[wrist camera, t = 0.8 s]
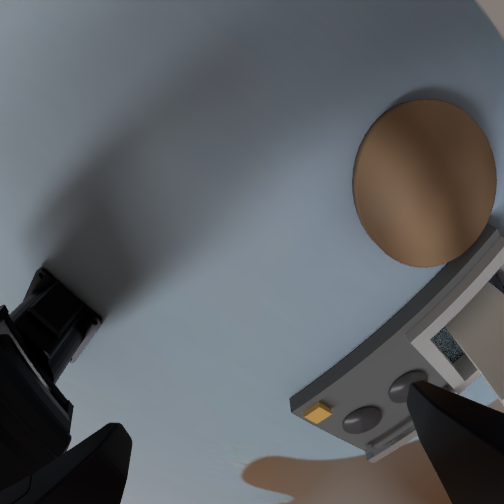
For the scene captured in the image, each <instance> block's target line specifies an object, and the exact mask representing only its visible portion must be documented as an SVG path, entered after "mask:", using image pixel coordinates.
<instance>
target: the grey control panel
mask: <svg viewBox="0 0 504 504" xmlns="http://www.w3.org/2000/svg"><path fill="white" fill-rule="evenodd" d="M496 272H497V274H498V276H499V278H500V280H501V282H502V285H503V287H504V237H502V236H501V235H500V233H499V231H498V229H497V228H495V227H493V226H491V225H490V224H488V223H487V224H486V226H485V228H484V229H483V231H482V233H481V234H480V236H479V237H478V238H477V240H476V241H475V242H474V243H473V244H472V245H471V246H470V247H469V248H468V249H467V250H466V251H465V252H464V253H462V254H461V255H460V256H458V257H457V258H455V259H453V260H452V261H450V262H449V263H448V264H447V265H446V266H445V267H444V268H443V269H442V270H441V271H440V272H439V273H438V274H437V275H436V276H435V277H434V278H433V279H432V280H431V281H430V282H429V283H428V284H427V285H426V286H425V287H424V288H423V289H422V290H421V291H420V292H419V293H418V294H417V295H416V296H415V297H414V298H413V299H412V300H411V301H410V302H409V303H407V304H406V305H405V306H404V307H403V308H402V309H401V310H400V311H399V312H398V313H397V314H396V315H394V316H393V317H392V318H391V319H390V320H389V321H388V322H387V323H385V324H384V325H383V326H382V327H381V328H380V329H379V330H377V331H376V332H375V333H374V334H373V335H372V336H371V337H369V338H368V339H367V340H366V341H365V342H363V343H362V344H361V345H360V346H359V347H357V348H356V349H355V350H354V351H352V352H351V353H350V354H349V355H348V356H346V357H345V358H344V359H343V360H341V361H340V362H339V363H337V364H336V365H335V366H334V367H332V368H331V369H330V370H328V371H327V372H326V373H325V374H323V375H322V376H321V377H319V378H318V379H317V380H315V381H314V382H312V383H311V384H310V385H308V386H307V387H306V388H304V389H303V390H301V391H300V392H299V393H297V394H296V395H294V396H293V397H292V398H290V407H291V413H293V414H294V415H296V416H298V417H300V418H302V419H303V420H305V421H307V422H309V423H311V424H313V425H315V426H316V427H318V428H320V429H322V430H324V431H326V432H328V433H330V434H332V435H334V436H336V437H338V438H340V439H342V440H344V441H346V442H348V443H350V444H352V445H354V446H356V447H358V448H360V449H362V450H364V448H365V447H367V446H368V445H370V444H371V445H373V446H375V447H376V448H379V447H380V446H382V445H383V444H385V443H386V442H388V441H390V440H391V439H393V438H394V437H396V436H397V435H399V434H400V433H402V432H403V431H405V430H406V429H407V428H409V427H410V426H412V425H413V421H412V418H411V416H410V413H409V411H408V408H407V396H408V391H409V386H410V384H411V383H412V382H415V381H418V380H425V381H427V382H429V383H432V384H434V385H436V386H439V387H441V388H443V387H448V388H449V389H450V391H451V392H453V393H455V392H457V393H458V394H460V393H461V392H462V391H463V390H465V389H466V388H467V387H468V386H469V385H470V384H471V383H473V382H474V381H475V380H476V379H477V378H478V377H479V376H480V375H481V374H480V372H479V371H478V370H477V368H476V367H475V366H474V364H473V363H472V362H471V360H470V359H469V358H468V356H467V355H466V354H465V353H464V354H463V355H462V356H461V357H460V358H459V359H457V360H456V361H455V362H454V363H452V362H451V361H450V360H449V359H448V357H447V356H446V355H445V354H444V353H443V351H442V350H441V349H440V348H439V347H438V345H437V344H436V343H435V342H434V341H433V340H432V337H433V336H434V335H436V334H437V333H438V332H439V331H440V330H441V329H442V328H443V327H444V326H445V325H446V324H447V323H448V322H449V321H450V320H451V319H452V318H453V317H455V316H456V315H457V314H458V313H459V312H460V311H461V310H462V309H463V308H464V306H465V305H466V304H467V303H468V302H469V301H470V300H471V299H472V298H473V297H474V296H475V295H476V294H477V293H478V292H479V291H480V290H481V289H482V288H483V286H484V285H485V284H486V283H487V282H488V281H489V280H490V279H491V277H492V276H493V275H494V274H495V273H496ZM364 451H365V450H364Z"/></svg>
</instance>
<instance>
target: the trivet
mask: <svg viewBox="0 0 504 504" xmlns="http://www.w3.org/2000/svg"><path fill="white" fill-rule="evenodd" d="M496 181H497V179H496V167H495V161H494V157H493V153H492V150H491V147H490V145H489V142H488V140H487V138H486V136H485V134H484V132H483V131H482V130H481V128H480V127H479V125H478V124H477V123H476V122H475V121H474V119H473V118H472V117H471V116H469V115H468V114H467V113H466V112H465V111H463V110H462V109H460V108H458V107H457V106H455V105H453V104H450V103H448V102H444V101H440V100H433V99H426V100H415V101H409V102H405V103H401V104H399V105H397V106H394V107H393V108H391V109H389V110H388V111H386V112H385V113H384V114H382V115H381V116H380V117H379V118H378V119H377V120H376V121H375V122H374V123H373V124H372V126H371V127H370V128H369V130H368V131H367V133H366V134H365V136H364V138H363V140H362V142H361V144H360V146H359V149H358V152H357V155H356V158H355V163H354V168H353V179H352V186H353V197H354V204H355V207H356V211H357V214H358V217H359V219H360V221H361V224H362V226H363V227H364V229H365V231H366V232H367V234H368V235H369V236H370V238H371V239H372V240H373V241H374V242H375V243H376V244H377V245H378V246H379V247H380V248H381V249H382V250H383V251H384V252H385V253H386V254H387V255H389V256H390V257H391V258H393V259H394V260H396V261H398V262H400V263H402V264H405V265H409V266H413V267H434V266H438V265H442V264H445V263H447V262H449V261H452V260H453V259H455V258H457V257H458V256H460V255H461V254H462V253H464V252H465V251H466V250H467V249H468V248H469V247H470V246H471V245H472V244H473V243H474V242H475V241H476V240H477V238H478V237H479V236H480V234H481V233H482V231H483V229H484V228H485V226H486V224H487V222H488V219H489V217H490V214H491V211H492V208H493V204H494V200H495V194H496Z"/></svg>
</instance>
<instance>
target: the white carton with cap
mask: <svg viewBox="0 0 504 504" xmlns="http://www.w3.org/2000/svg"><path fill="white" fill-rule="evenodd" d="M445 328H446V329H447V330H448V331H449V333H450V334H451V335H452V337H453V338H454V339H455V341H456V342H457V343H458V345H459V346H460V347H461V349H462V350H463V351H464V353H465V354H466V355H467V356H468V358H469V359H470V360H471V362H472V363H473V364H474V366H475V367H476V368H477V370H478V371H479V372H480V374H481V375H482V376H483V378H484V379H485V380H486V382H487V383H488V384H489V386H490V387H491V389H492V390H493V391H494V393H495V394H496V396H497V397H498V399H499V400H500V401H501V403H502V404H503V406H504V294H503V293H502V292H501V291H499V290H498V289H497V288H496V287H495V286H493V285H492V284H491V283H490V282H487V283H486V284H485V285H484V286H483V288H482V289H481V290H480V291H479V292H478V293H477V294H476V295H475V296H474V297H473V298H472V299H471V300H470V301H469V302H468V303H467V304H466V305H465V306H464V308H463V309H462V310H461V311H460V312H459V313H458V314H457V315H456V316H455V317H453V318H452V319H451V320H450V321H449V322H448V323H447V324H446V325H445Z"/></svg>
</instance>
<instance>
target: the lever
mask: <svg viewBox="0 0 504 504" xmlns="http://www.w3.org/2000/svg"><path fill="white" fill-rule="evenodd" d="M443 389H446V390H448V391H450V389H449V388H448V387H443ZM450 392H451V391H450ZM417 435H418V434H417V432H416V429H415V426H414V424H413V425H412V426H410V427H409V428H407V429H406V430H405V431H403V432H402V433H400V434H399V435H397V436H396V437H394V438H393V439H391V440H390V441H388V442H386V443H385V444H383V445H382V446H380V447H379V448H376V447H375V446H373V445H371V444H370V445H368V446H367V447H365V448H364V450H365V453H366V456H367V460H368V461H370V462H372V463H374V462H376V461H378V460H379V459H381V458H383V457H384V456H386V455H388V454H389V453H391V452H393V451H394V450H396V449H397V448H399V447H400V446H402V445H403V444H405V443H406V442H408V441H409V440H411V439H412V438H414V437H415V436H417Z"/></svg>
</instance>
